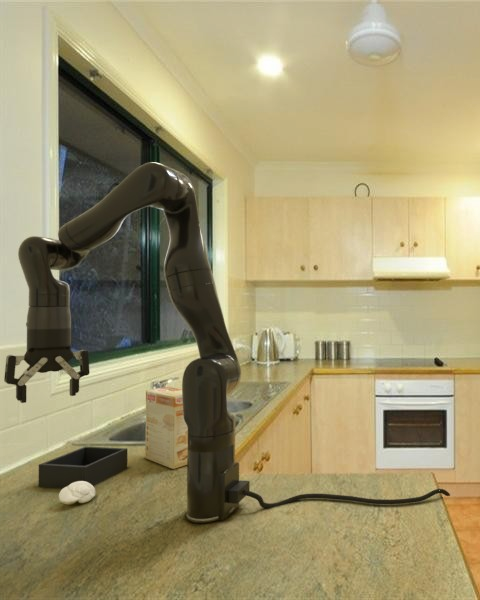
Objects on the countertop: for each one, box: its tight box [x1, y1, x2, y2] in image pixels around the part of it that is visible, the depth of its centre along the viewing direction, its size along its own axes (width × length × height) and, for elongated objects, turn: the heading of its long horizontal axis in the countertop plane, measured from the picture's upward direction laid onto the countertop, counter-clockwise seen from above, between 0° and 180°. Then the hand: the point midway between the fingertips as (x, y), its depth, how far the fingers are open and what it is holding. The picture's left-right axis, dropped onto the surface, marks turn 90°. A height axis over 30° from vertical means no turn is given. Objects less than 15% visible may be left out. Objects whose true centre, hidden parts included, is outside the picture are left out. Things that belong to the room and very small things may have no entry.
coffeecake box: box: [144, 386, 188, 470], centre depth 114 cm, size 15×7×20 cm, turn 58°
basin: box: [38, 446, 128, 489], centre depth 102 cm, size 13×13×5 cm
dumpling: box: [56, 481, 96, 506], centre depth 89 cm, size 7×5×4 cm
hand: (48, 398), depth 90 cm, fingers open, 8 cm apart
